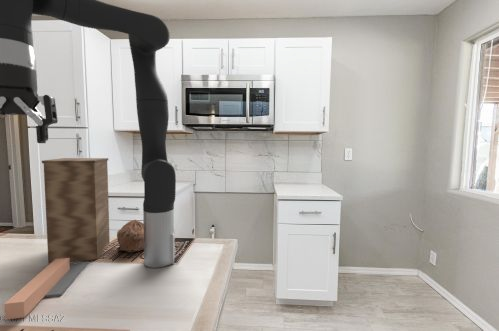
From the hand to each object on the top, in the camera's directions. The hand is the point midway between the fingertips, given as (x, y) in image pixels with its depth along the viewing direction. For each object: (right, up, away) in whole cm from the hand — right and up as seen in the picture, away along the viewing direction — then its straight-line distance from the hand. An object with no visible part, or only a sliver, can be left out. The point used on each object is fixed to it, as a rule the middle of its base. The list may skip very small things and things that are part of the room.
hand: (18, 143), depth 56 cm
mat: (-2, -37, +16) cm, 40 cm away
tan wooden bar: (-2, -37, +10) cm, 38 cm away
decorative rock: (+8, -35, +38) cm, 53 cm away
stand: (-8, -35, +34) cm, 50 cm away
